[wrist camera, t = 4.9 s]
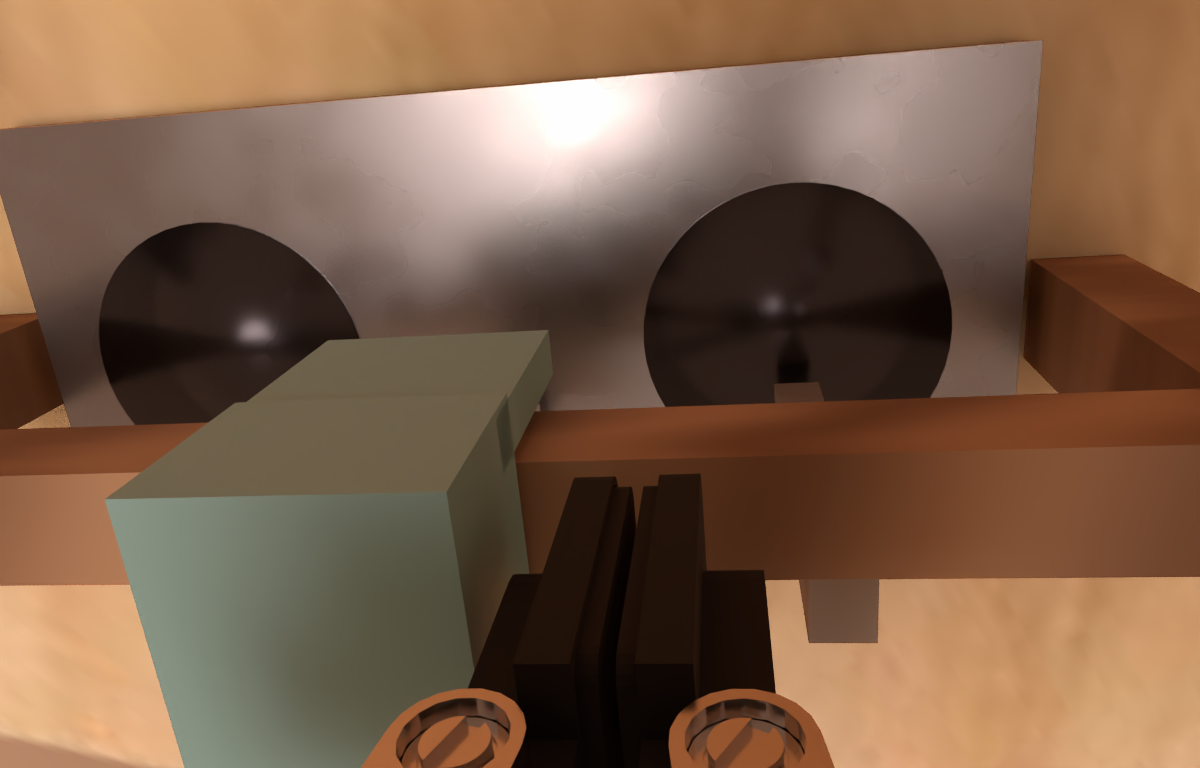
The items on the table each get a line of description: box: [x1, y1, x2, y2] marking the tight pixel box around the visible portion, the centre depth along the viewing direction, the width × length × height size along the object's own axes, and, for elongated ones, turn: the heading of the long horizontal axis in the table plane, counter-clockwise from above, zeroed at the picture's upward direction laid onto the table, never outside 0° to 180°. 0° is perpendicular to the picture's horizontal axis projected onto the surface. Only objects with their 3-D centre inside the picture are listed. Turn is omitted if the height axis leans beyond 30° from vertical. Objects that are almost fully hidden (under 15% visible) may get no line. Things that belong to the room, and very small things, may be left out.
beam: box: [0, 255, 1200, 643], centre depth 19 cm, size 29×3×10 cm, turn 95°
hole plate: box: [0, 40, 1043, 427], centre depth 23 cm, size 24×12×1 cm, turn 95°
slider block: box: [105, 330, 553, 768], centre depth 16 cm, size 4×4×12 cm
